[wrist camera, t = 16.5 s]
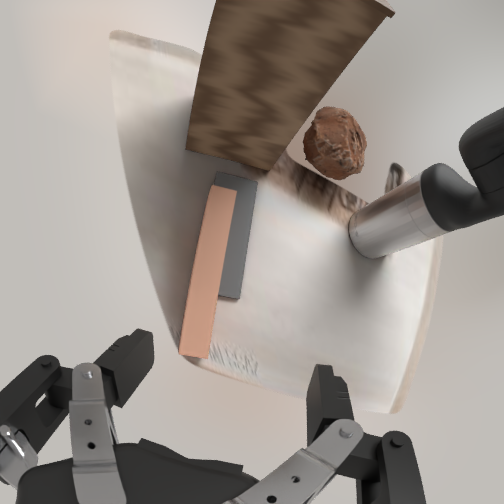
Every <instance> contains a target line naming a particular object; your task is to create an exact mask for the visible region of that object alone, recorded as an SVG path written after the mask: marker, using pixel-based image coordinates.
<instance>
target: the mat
mask: <svg viewBox="0 0 504 504" xmlns="http://www.w3.org/2000/svg"><path fill="white" fill-rule="evenodd" d="M214 185H215V186H219V187H223V188H227V189H231V190H235V191H237V193H236V199H235V204H234V209H233V214H232V220H231V225H230V230H229V236H228V241H227V247H226V252H225V258H224V263H223V269H222V275H221V281H220V286H219V292H218V295H219V296H225V297H230V298H236V299H240V293H241V286H242V280H243V274H244V267H245V261H246V254H247V248H248V242H249V235H250V229H251V223H252V216H253V210H254V204H255V197H256V191H257V185H258V182H256V181H252V180H248V179H245V178H241V177H237V176H233V175H229V174H225V173H221V172H217V174H216V178H215V182H214Z"/></svg>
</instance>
